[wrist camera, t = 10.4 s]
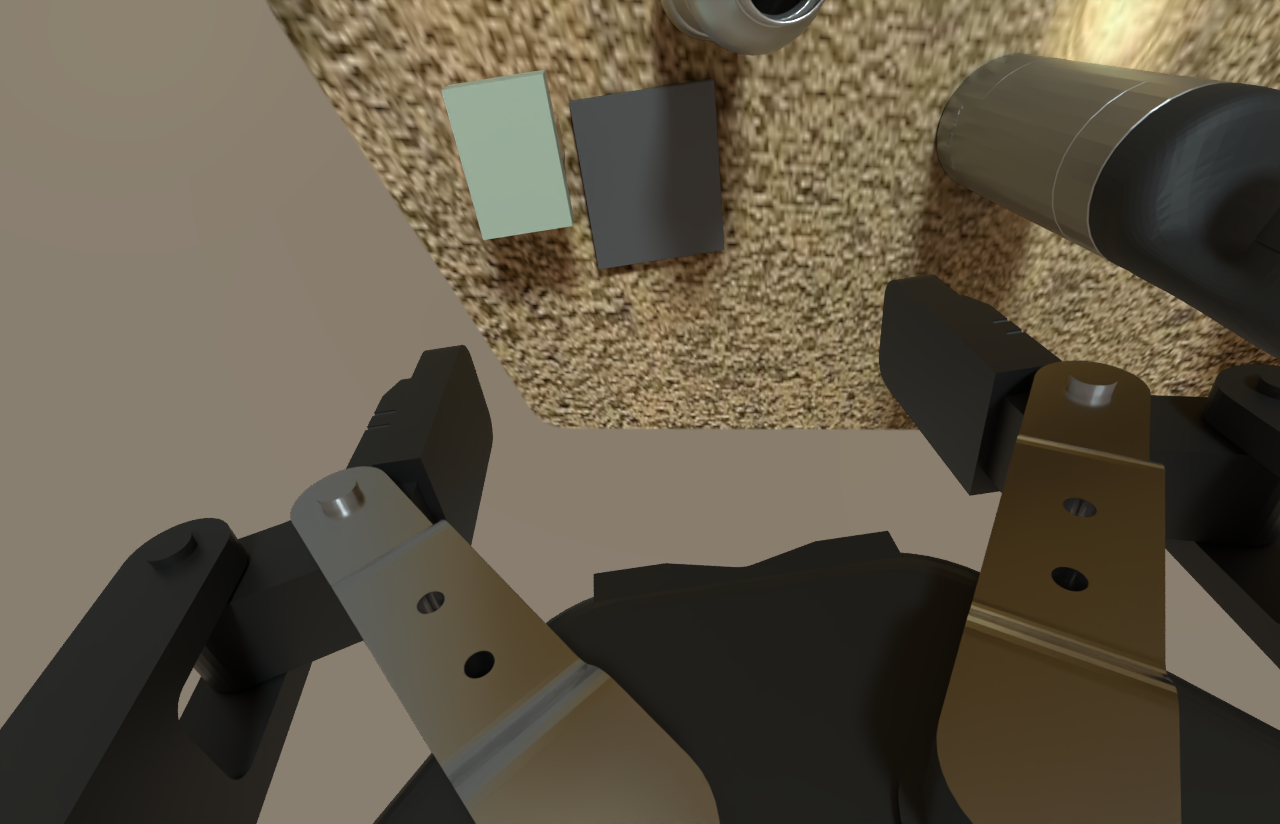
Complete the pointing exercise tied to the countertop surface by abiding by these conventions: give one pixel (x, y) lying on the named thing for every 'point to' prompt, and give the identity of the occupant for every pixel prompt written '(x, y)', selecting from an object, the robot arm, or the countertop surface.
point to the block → (510, 153)
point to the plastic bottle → (743, 22)
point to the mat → (651, 172)
